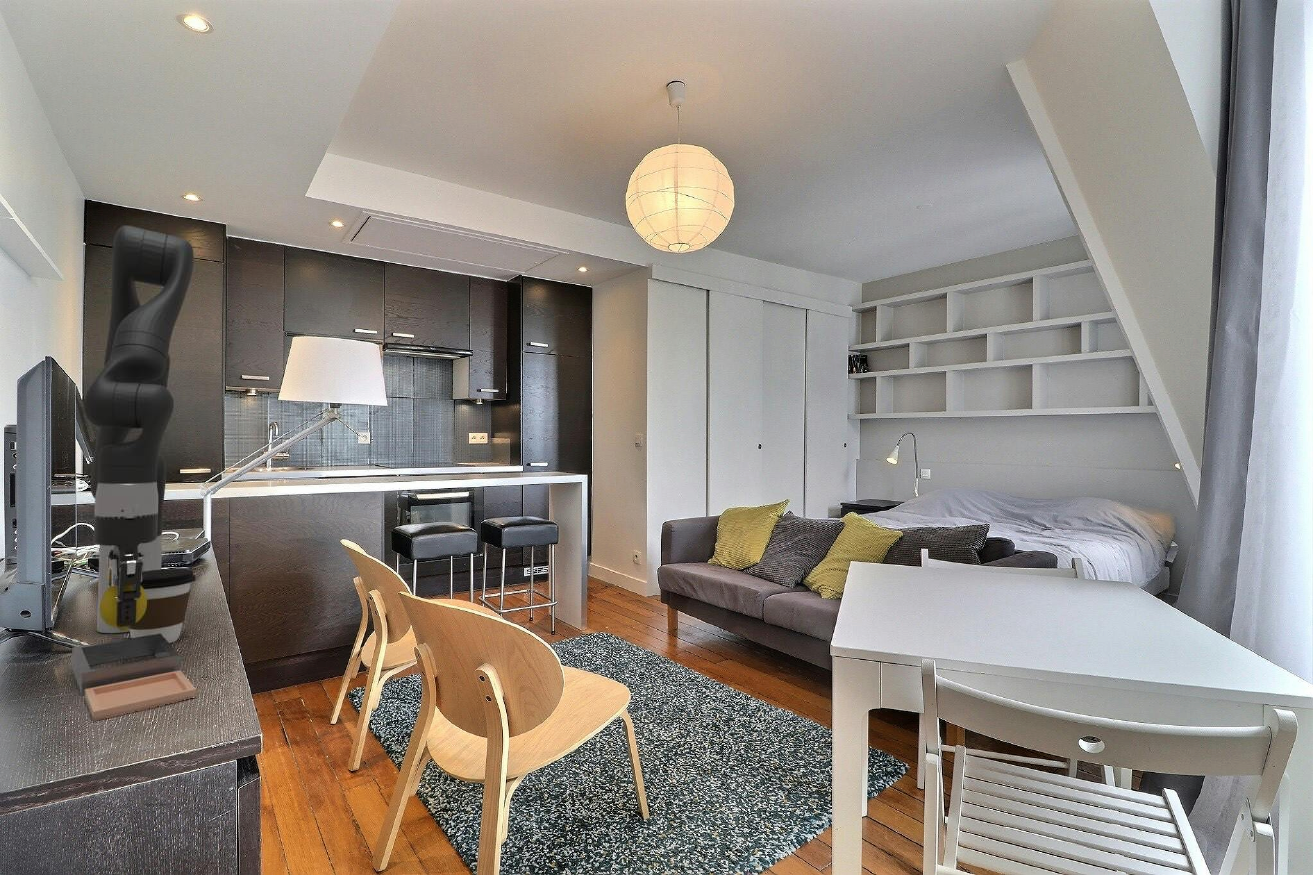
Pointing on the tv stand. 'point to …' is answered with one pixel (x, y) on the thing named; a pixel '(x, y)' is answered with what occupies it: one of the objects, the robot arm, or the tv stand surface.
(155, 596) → the coffee cup
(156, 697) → the tray
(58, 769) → the tv stand surface
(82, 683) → the grey open box
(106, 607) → the lemon
